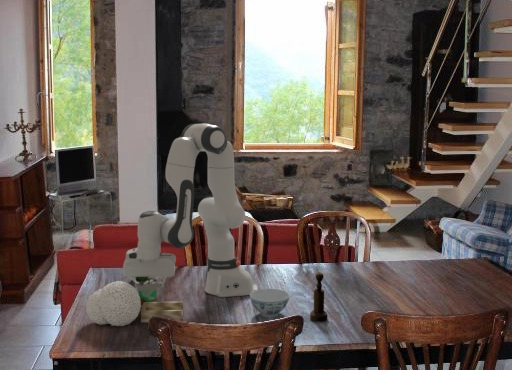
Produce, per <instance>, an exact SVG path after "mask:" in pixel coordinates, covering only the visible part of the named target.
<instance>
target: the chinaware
mask: <svg viewBox="0 0 512 370" xmlns="http://www.w3.org/2000/svg"><path fill="white" fill-rule="evenodd" d="M249 297H250V302H251V305H252V306H253V308H255V311H258V313H260V315H261V316H262V317H265V318H275V317H276V318H277V317H278V316H279V314H280V312H283V310H284V309H285V308H286V307H287V305H288V302H289V299H290V293H289V292H287V291H285V290H282V289H276V288H261V289H258V290H256V291H253V292H252V293H251V294H250V295H249Z"/></svg>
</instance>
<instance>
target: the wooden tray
mask: <svg viewBox="0 0 512 370" xmlns="http://www.w3.org/2000/svg"><path fill="white" fill-rule="evenodd" d="M183 315H184V301H156V302H144V303H143V306H142V309H140V323H149V322H148V320H149V319H150V317H152V316H161V317H166V318H172V319H181V320H182V321H183Z"/></svg>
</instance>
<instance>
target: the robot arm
mask: <svg viewBox="0 0 512 370" xmlns="http://www.w3.org/2000/svg"><path fill="white" fill-rule="evenodd" d="M168 152H169V153H168V156H167V161H166V165H165V180H166V182H167V183H168V185H169V186H170V188H172V189H173V191H174V192H175V195H176V198H177V199H176V200H177V204H176V213H175V214H176V215H175V218H173V217H168V216H166V215H163V214H162V213H160V212H159V211H156V210H148V211H144V212H142V213H141V214H140V215H139V217H138V221H137V238H138V241H137V247H134V248H131V249H128V250H127V251H126V253H125V259H124V261H123V265H122V275H123V276H124V277H126V278H127V277H128V278H129V277H131V280H132V282H133V283H134V288H138V285H140V282H139V281H137V279H136V277H153V278H155V277H156V278H160V277H161V279H162V281H158V284H159V286H158V288H164V283H165V282H166V280H167V277H169V278H173V277H174V276H175V274H176V268H175V267H176V265H175V264H176V262H177V256H176V255H175V254H174V253H172V252H169V253H167V252H161V243H162V242H165V243H167V244H170V245H171V246H172V247H174V248H177V249H184V248H186V247H187V246H189V245H190V244H191V242H192V241H193V239H194V234H195V231H194V226H193V215H194V214H193V213H194V200H195V187H194V174H195V173H194V172H195V166H196V159H197V157H198V155H199V153H200V152H205V153H206V155H207V186H208V188H209V190H210V191H211V194H212V197H204V198H203V199H202V200H201V201H200V202H199V204H198V206H197V213H198V215H199V217H200V219H201V220H202V223H203V226H204V230H205V233H206V238H207V255H208V256H207V259H206V270H207V277H206V283H205V287H204V292H205V293H206V294H209V295H213V296H216V297H218V298H227V297H240V296H250V294H251V293H252V292H253V291H256V290H259V288H258V285H257V284H256V283H254V282H253V278H252V276H251V274H250V272H249V271H247V270H245V269H244V268H243V267H241V261H240V259H239V257H236V256H235V238H234V236H233V235H232V233H231V231H230V229H237V228H238V229H239V228H240V227H241V226H242V225H243V224H244V222H245V220H246V212H245V209H244V208H243V206H242V205H241V203H240V200H239V197H238V194H237V189H236V184H235V180H236V179H235V156H234V155H235V154H234V148H233V144H232V143H231V142H230V141H228V140H227V135H226V133H225V131H224V128H223V129H222V127H220V126H218V125H216V124H215V125H214V124H209V123H191V124H188V125H187V126H185V128H184V129H183V130H182V133H181V135H179V137H178V138H177V137H176V138H175V139H174V140H173V141H172V142H171V146H170V149H169V151H168Z"/></svg>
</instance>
